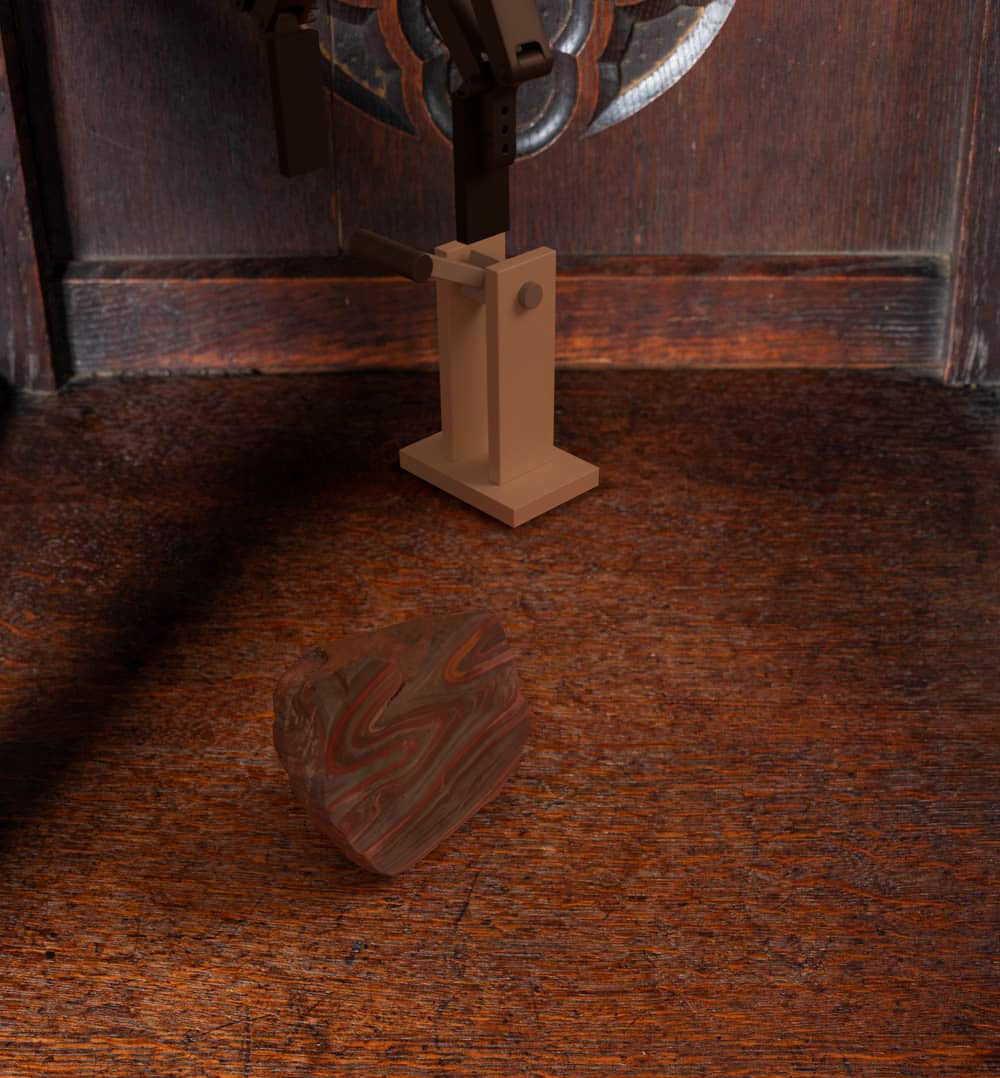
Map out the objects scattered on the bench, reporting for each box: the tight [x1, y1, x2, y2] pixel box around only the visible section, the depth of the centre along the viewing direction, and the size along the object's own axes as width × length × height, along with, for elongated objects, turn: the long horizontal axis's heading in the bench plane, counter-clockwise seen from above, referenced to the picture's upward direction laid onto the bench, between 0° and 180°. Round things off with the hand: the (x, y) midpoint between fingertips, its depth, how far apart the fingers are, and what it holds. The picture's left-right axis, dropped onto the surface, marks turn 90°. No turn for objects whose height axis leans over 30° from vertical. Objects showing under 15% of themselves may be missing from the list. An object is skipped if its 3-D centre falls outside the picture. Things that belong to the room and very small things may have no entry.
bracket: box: [398, 232, 600, 529], centre depth 82 cm, size 7×10×14 cm
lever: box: [348, 228, 508, 305], centre depth 76 cm, size 10×5×2 cm, turn 135°
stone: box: [272, 608, 532, 877], centre depth 60 cm, size 13×8×10 cm
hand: (389, 202), depth 71 cm, fingers open, 13 cm apart
